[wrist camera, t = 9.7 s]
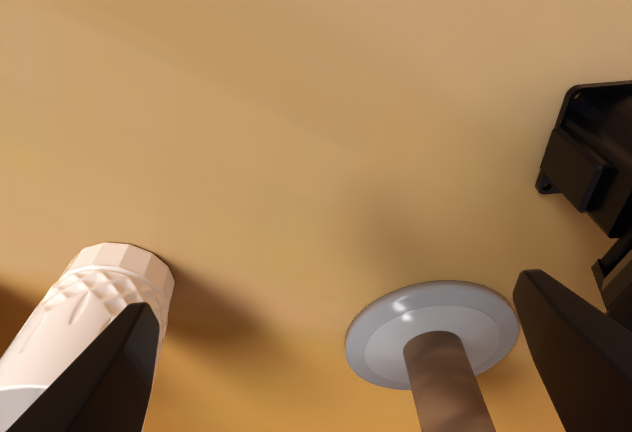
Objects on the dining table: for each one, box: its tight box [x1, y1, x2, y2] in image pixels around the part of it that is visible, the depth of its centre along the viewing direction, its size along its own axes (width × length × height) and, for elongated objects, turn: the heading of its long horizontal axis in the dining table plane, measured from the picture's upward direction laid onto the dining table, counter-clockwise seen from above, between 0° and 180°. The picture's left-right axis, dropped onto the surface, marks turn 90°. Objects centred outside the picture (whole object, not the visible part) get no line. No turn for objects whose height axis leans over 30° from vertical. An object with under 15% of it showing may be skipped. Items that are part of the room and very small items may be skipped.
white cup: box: [0, 242, 175, 432], centre depth 24 cm, size 8×8×10 cm
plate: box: [345, 281, 519, 390], centre depth 33 cm, size 14×14×1 cm
